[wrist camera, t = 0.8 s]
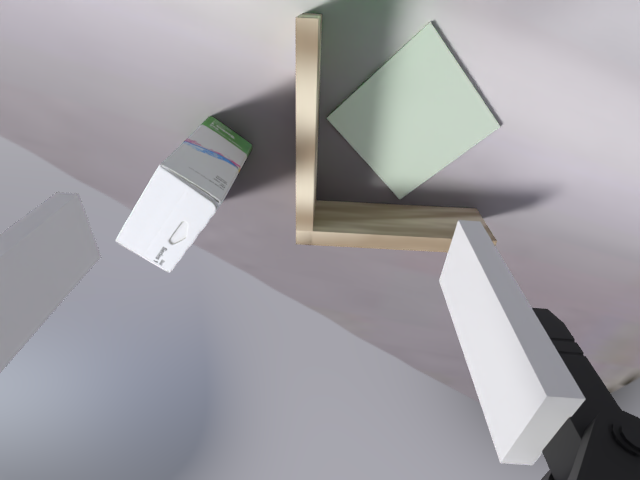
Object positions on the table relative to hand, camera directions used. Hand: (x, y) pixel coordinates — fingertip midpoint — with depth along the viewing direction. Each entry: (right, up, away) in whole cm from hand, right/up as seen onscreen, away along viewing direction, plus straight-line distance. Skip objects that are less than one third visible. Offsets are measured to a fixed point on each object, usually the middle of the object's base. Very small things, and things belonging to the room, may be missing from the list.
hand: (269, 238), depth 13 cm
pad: (+10, +11, +20) cm, 25 cm away
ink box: (-9, +8, +23) cm, 26 cm away
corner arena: (+9, +10, +21) cm, 25 cm away
